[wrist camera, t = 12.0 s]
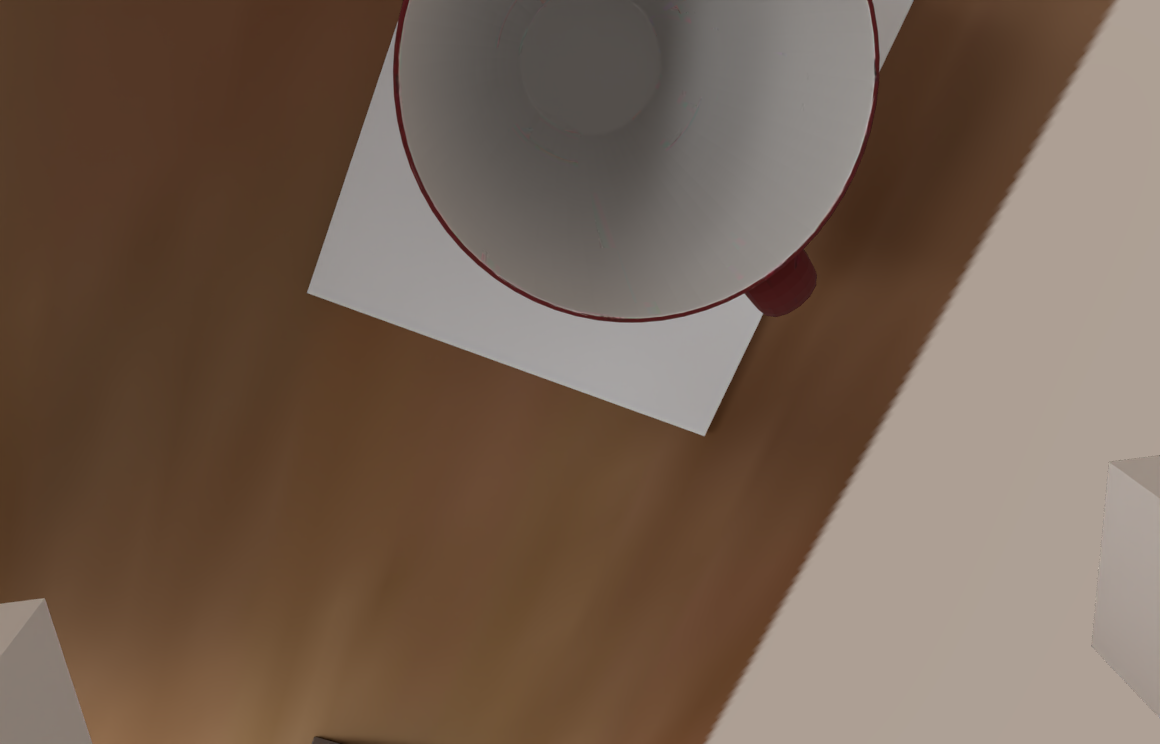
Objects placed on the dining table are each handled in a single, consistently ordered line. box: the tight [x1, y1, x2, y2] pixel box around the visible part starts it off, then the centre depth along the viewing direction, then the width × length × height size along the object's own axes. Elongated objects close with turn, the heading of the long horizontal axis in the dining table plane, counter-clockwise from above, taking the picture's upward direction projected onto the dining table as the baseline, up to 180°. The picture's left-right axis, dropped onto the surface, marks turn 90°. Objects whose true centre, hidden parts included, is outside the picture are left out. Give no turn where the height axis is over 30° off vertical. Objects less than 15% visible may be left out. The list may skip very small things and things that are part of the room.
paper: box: [307, 0, 914, 436], centre depth 26 cm, size 16×12×1 cm
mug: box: [393, 0, 880, 323], centre depth 21 cm, size 11×8×10 cm
